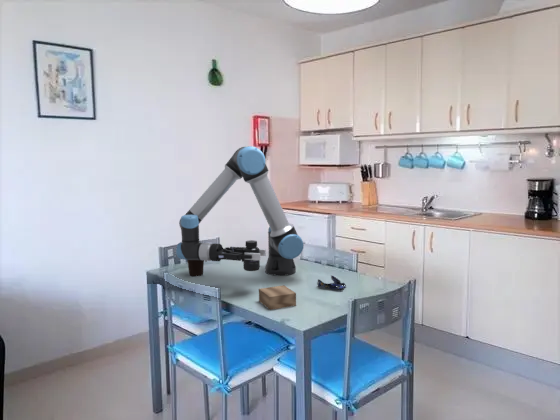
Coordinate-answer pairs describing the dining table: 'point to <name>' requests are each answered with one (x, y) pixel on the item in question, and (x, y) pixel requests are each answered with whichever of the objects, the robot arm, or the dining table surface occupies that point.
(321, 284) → the dark blue angular piece
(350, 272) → the dining table surface
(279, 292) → the foundation block
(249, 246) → the supplement bottle
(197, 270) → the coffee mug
